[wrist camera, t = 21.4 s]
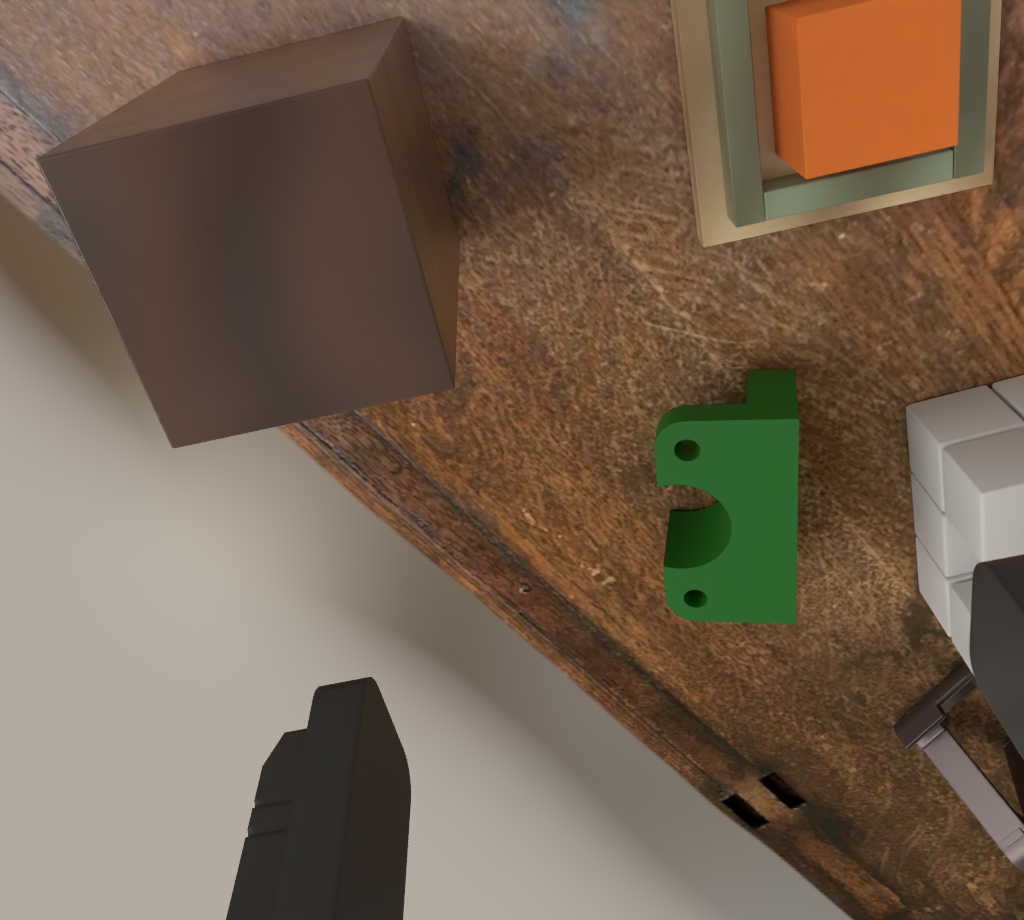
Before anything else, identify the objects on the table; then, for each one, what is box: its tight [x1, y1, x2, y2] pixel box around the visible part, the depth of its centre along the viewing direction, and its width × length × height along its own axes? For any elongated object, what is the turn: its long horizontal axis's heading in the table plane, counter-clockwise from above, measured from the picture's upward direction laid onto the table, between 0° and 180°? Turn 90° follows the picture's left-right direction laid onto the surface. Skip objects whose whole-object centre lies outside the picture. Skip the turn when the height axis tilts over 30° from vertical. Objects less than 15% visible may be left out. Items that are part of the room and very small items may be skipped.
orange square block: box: [765, 0, 962, 179], centre depth 34 cm, size 6×6×4 cm
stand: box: [37, 17, 460, 448], centre depth 32 cm, size 9×9×14 cm
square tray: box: [670, 0, 1002, 247], centre depth 36 cm, size 12×12×3 cm
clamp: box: [654, 369, 799, 624], centre depth 44 cm, size 12×6×9 cm, turn 2°
